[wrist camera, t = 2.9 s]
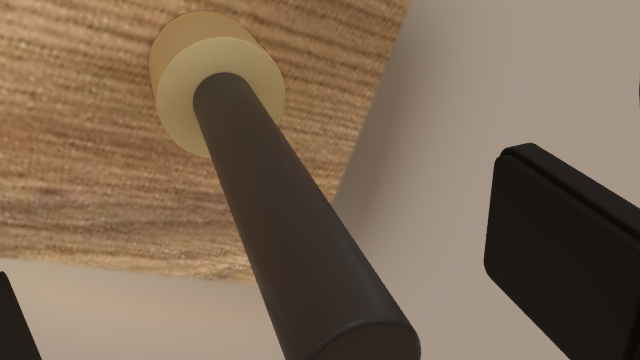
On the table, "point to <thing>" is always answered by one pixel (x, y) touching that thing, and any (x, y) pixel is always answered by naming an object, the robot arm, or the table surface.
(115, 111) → the table surface
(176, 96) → the brush
